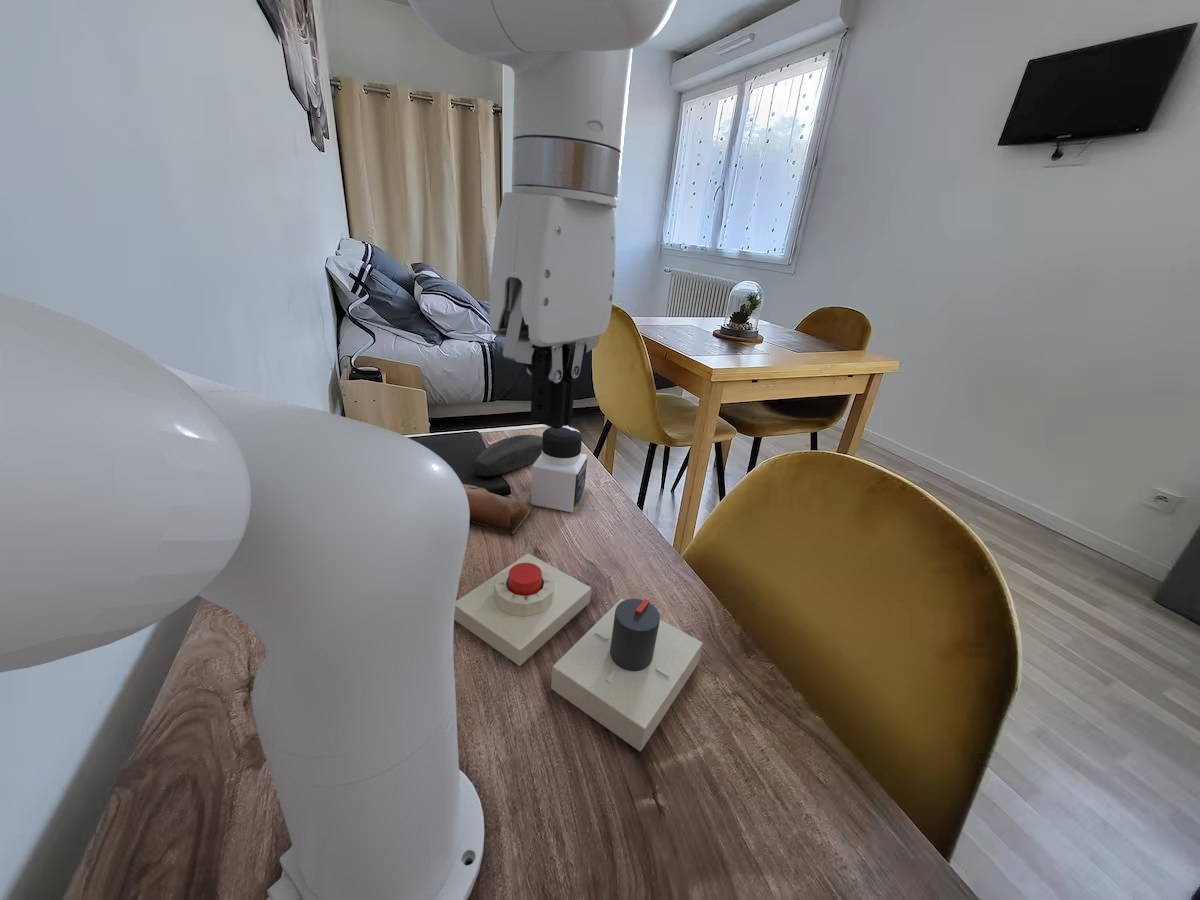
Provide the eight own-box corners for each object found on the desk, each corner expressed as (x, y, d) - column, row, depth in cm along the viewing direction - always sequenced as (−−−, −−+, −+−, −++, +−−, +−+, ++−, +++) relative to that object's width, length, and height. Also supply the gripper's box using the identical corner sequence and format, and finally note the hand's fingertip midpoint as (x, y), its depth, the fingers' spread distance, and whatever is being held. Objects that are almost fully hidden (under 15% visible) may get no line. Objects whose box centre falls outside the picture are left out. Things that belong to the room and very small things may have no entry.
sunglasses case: (534, 506, 75) (527, 483, 69) (518, 547, 71) (508, 526, 65) (431, 482, 78) (416, 459, 73) (410, 520, 75) (392, 498, 69)
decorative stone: (525, 443, 97) (526, 424, 95) (552, 452, 94) (553, 432, 93) (464, 474, 83) (464, 452, 81) (494, 486, 80) (494, 463, 79)
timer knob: (641, 678, 45) (649, 635, 42) (602, 657, 46) (607, 615, 44) (659, 649, 48) (667, 607, 46) (622, 630, 50) (628, 590, 48)
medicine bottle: (574, 513, 75) (579, 443, 70) (529, 505, 76) (532, 435, 71) (584, 492, 81) (590, 426, 76) (543, 484, 82) (547, 419, 77)
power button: (525, 601, 52) (526, 588, 51) (501, 586, 53) (501, 573, 53) (547, 584, 54) (548, 571, 54) (524, 570, 56) (524, 558, 55)
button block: (519, 666, 48) (520, 636, 47) (452, 619, 53) (451, 590, 51) (590, 602, 57) (593, 575, 56) (527, 566, 62) (528, 541, 61)
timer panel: (640, 752, 41) (645, 727, 40) (550, 688, 46) (552, 664, 45) (698, 663, 51) (703, 641, 49) (618, 618, 55) (621, 596, 54)
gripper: (584, 191, 42) (568, 395, 49) (444, 158, 30) (451, 432, 37) (661, 195, 38) (632, 414, 45) (537, 159, 26) (524, 462, 34)
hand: (550, 422), depth 41 cm, fingers closed
